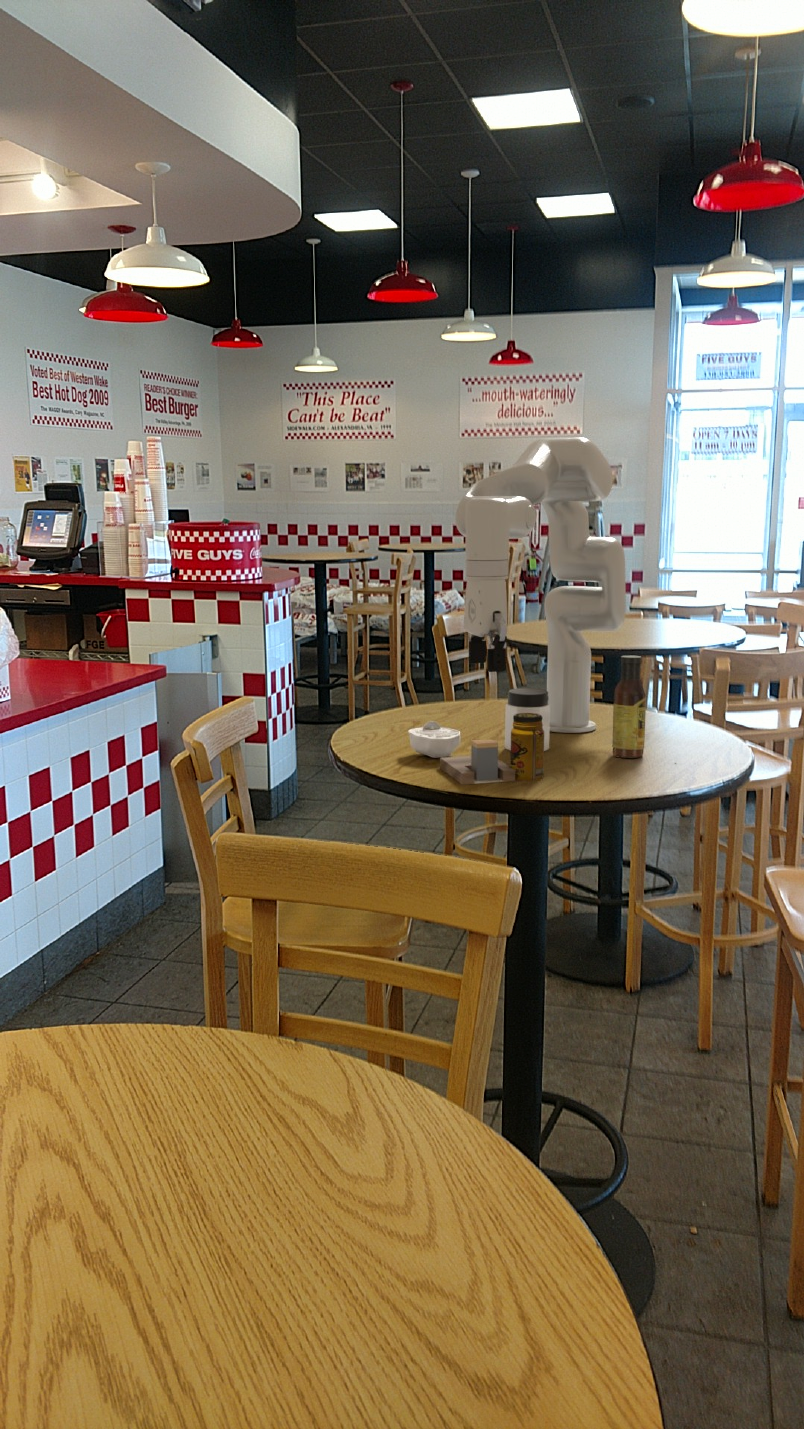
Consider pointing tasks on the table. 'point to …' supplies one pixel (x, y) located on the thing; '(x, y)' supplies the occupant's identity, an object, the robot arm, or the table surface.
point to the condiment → (527, 747)
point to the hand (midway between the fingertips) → (486, 667)
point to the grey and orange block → (484, 759)
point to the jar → (527, 710)
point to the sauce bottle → (629, 710)
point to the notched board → (464, 775)
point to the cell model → (434, 740)
